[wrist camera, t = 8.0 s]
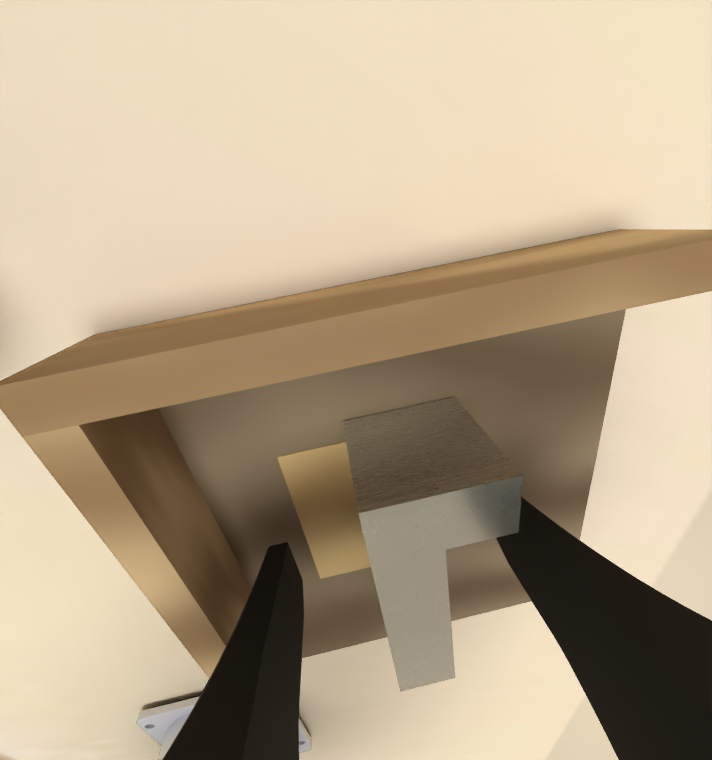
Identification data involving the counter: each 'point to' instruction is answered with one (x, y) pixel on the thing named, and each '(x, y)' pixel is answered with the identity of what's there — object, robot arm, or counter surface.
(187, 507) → the walls
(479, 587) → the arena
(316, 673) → the counter surface
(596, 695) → the robot arm
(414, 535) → the bracket
